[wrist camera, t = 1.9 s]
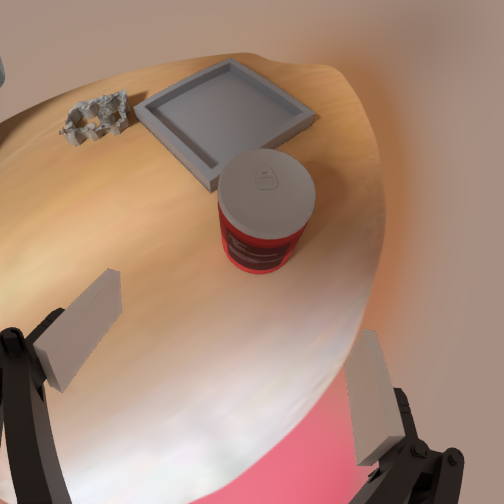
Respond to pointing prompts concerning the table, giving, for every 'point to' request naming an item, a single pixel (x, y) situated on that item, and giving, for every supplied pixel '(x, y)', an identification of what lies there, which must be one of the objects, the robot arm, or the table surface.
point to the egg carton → (104, 111)
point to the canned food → (263, 208)
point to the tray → (221, 118)
